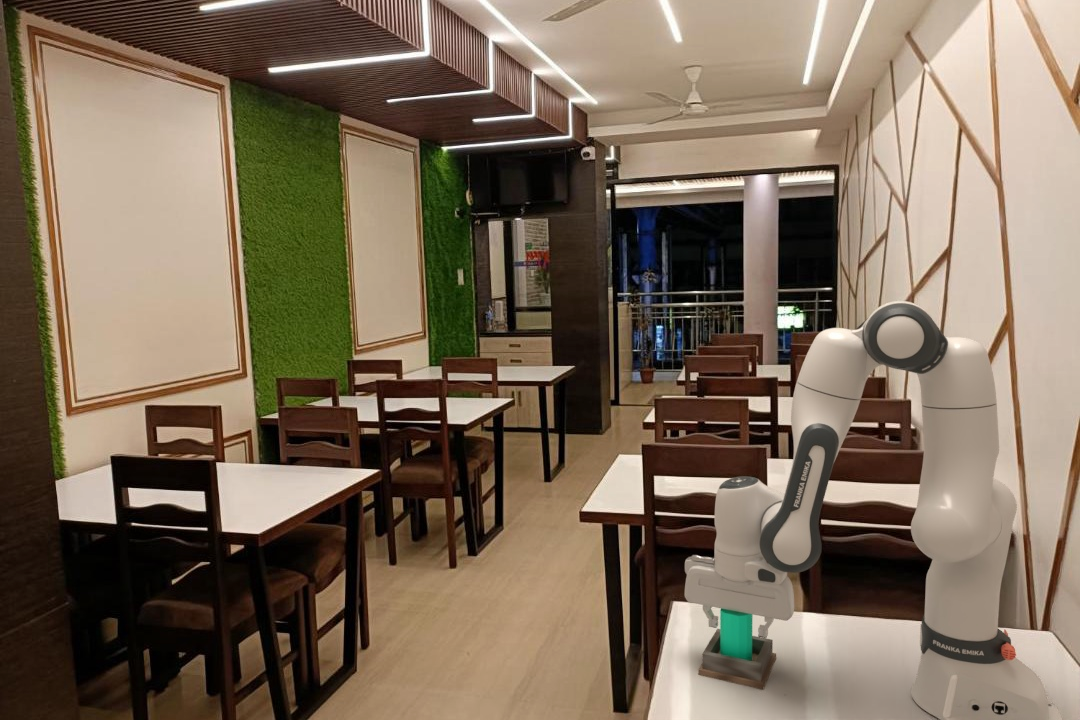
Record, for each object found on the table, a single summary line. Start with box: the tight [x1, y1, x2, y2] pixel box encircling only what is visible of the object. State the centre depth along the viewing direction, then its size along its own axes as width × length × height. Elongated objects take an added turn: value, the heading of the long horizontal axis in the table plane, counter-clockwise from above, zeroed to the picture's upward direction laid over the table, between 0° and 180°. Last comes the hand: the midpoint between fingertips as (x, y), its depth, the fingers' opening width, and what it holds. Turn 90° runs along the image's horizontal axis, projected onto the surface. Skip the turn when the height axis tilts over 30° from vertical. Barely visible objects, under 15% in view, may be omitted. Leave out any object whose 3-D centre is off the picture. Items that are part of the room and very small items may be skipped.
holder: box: [697, 628, 777, 690], centre depth 147 cm, size 12×12×4 cm
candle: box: [719, 608, 753, 661], centre depth 147 cm, size 6×6×12 cm
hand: (737, 631), depth 147 cm, fingers open, 8 cm apart
